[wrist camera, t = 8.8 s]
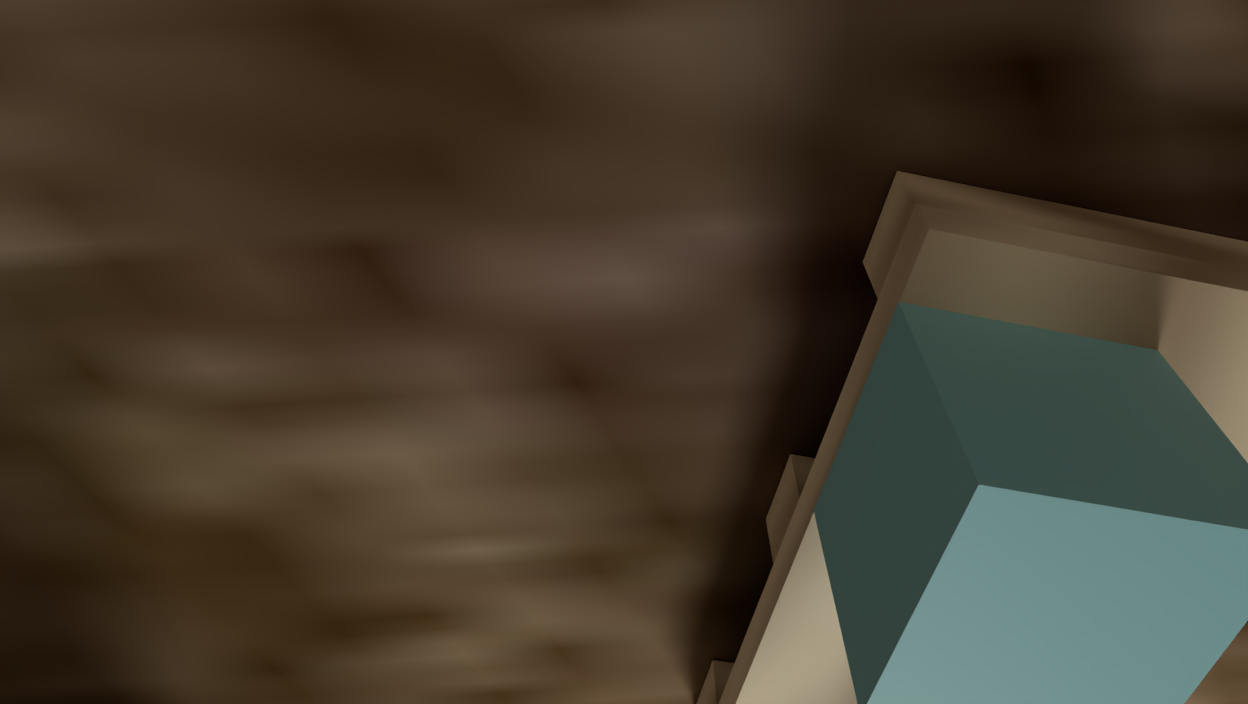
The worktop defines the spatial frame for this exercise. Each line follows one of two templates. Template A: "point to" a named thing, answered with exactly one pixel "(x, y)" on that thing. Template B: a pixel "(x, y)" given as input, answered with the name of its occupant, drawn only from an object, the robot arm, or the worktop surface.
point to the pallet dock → (1006, 291)
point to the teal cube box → (1031, 521)
